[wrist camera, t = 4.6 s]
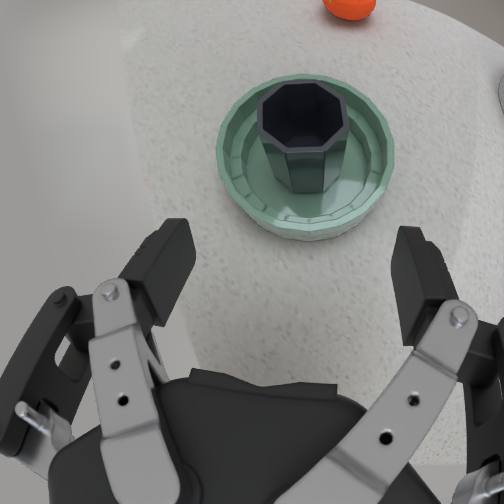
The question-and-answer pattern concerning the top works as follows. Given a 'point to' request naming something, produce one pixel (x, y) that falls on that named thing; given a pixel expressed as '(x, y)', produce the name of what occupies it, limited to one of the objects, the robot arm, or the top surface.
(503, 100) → the lumpy-topped squat cylinder
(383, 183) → the bowl
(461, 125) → the top surface
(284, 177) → the cup
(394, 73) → the top surface
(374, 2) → the clementine
